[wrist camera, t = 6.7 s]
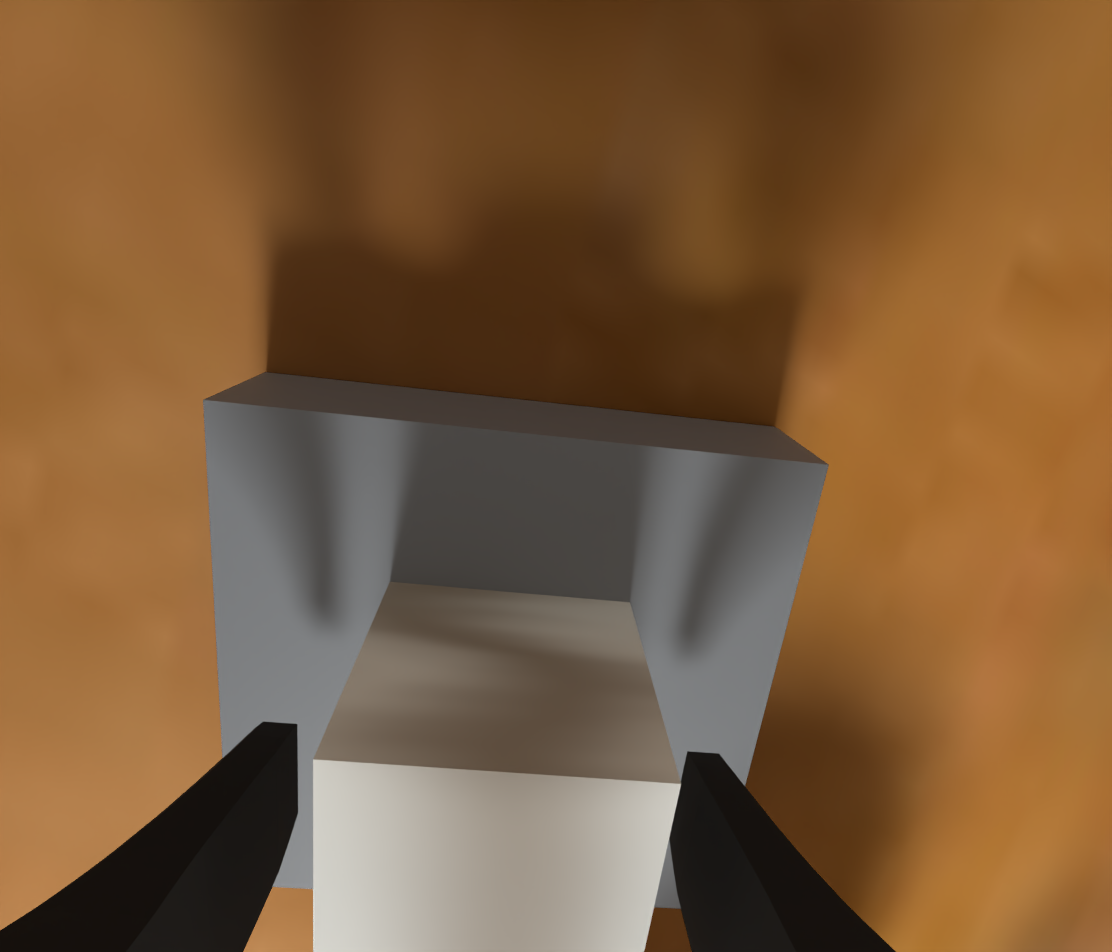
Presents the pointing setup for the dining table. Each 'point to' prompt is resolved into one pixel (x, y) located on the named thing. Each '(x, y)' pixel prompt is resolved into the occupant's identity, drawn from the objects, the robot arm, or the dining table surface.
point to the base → (495, 545)
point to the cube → (492, 780)
